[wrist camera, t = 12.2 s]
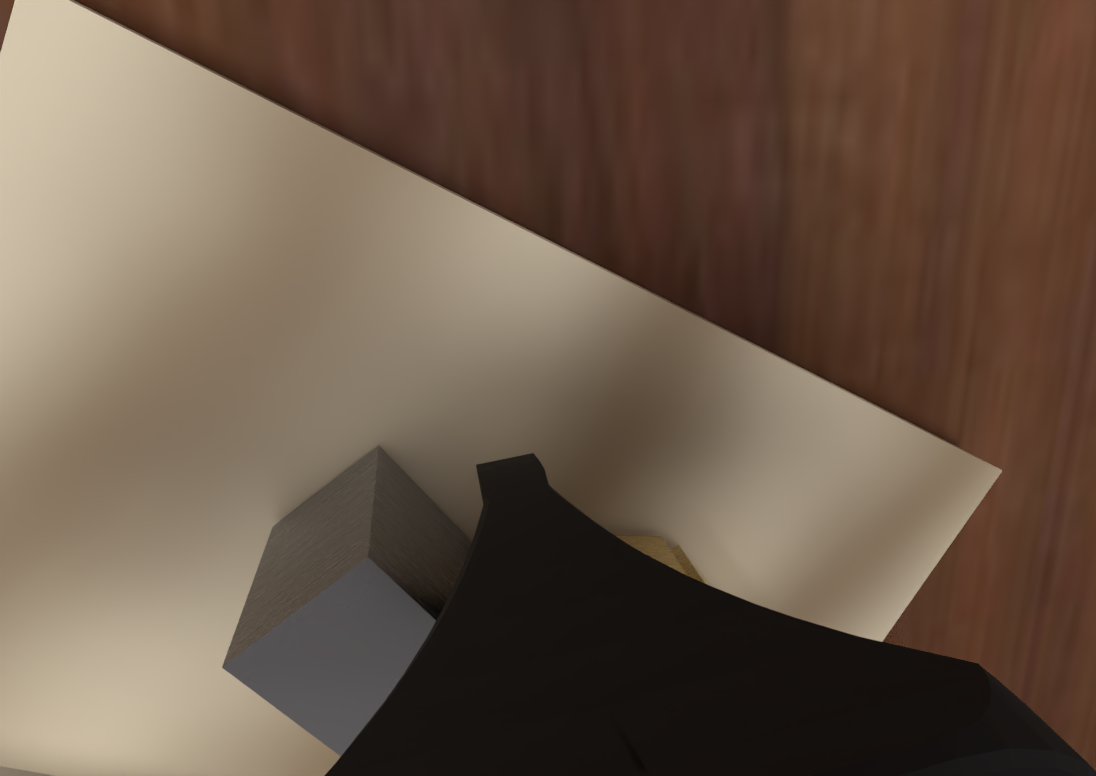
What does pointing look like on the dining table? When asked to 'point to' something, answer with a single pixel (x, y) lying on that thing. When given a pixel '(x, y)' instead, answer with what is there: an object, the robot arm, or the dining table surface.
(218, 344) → the board
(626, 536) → the ring nut
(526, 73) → the dining table surface
